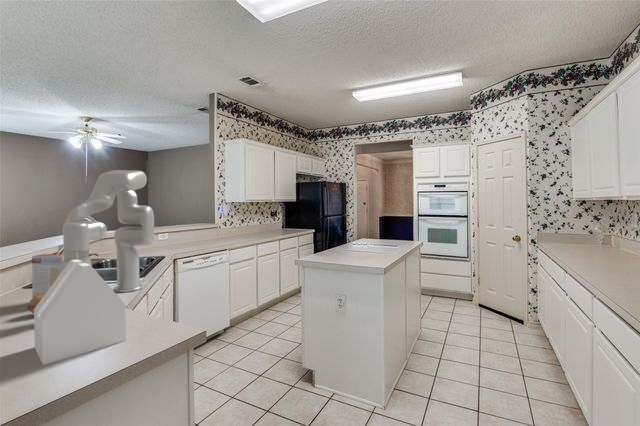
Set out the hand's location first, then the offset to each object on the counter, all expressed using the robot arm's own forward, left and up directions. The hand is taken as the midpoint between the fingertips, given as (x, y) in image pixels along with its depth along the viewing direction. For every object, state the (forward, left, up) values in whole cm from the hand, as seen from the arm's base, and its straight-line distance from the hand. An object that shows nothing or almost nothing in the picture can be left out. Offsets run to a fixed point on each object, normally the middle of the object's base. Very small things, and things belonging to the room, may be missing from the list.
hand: (77, 303), depth 115 cm
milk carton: (+20, +22, -6) cm, 30 cm away
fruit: (-1, -16, -5) cm, 17 cm away
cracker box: (-14, -26, -5) cm, 30 cm away
